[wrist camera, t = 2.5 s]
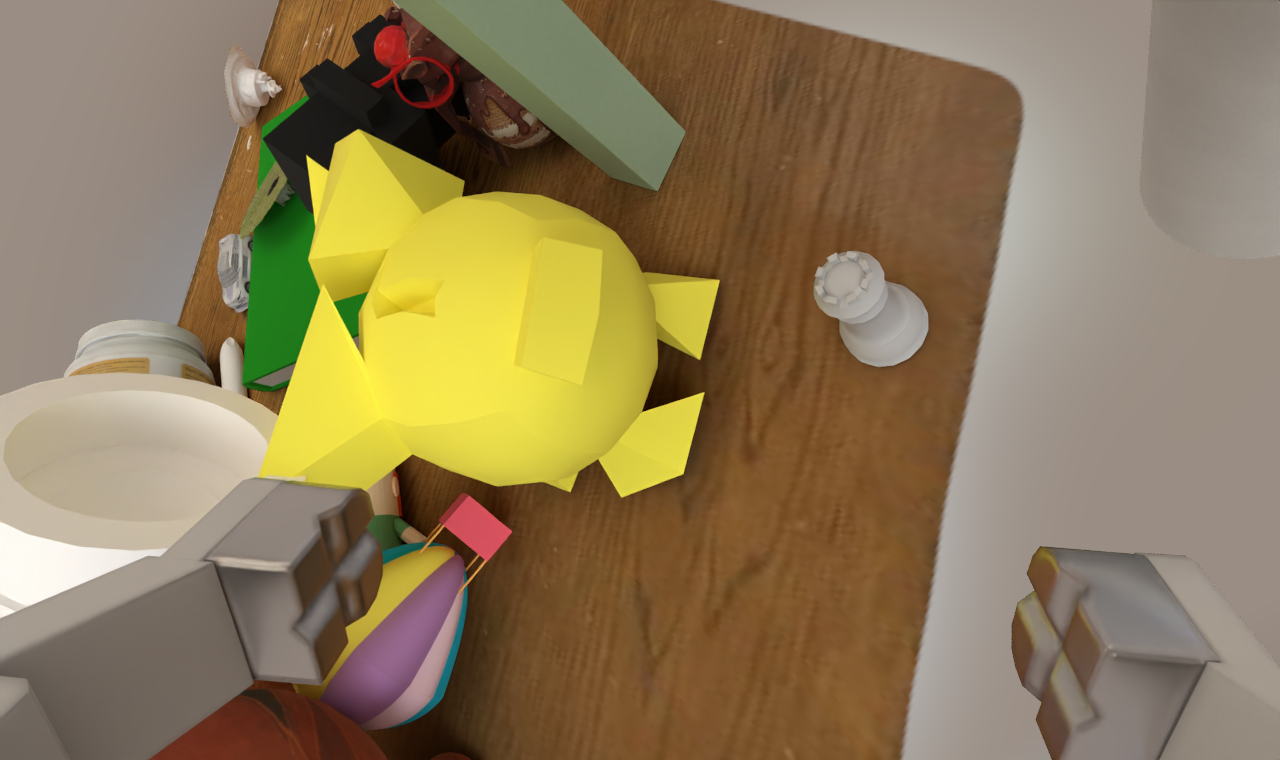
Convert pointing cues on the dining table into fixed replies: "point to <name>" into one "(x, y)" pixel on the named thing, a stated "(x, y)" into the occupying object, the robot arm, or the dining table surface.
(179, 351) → the supplement tub
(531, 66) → the pillar
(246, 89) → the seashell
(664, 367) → the dining table surface
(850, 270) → the rook chess piece
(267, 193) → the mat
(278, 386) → the book
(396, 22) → the cherry-topped chocolate cake
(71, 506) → the white ridged vase
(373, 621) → the hot air balloon
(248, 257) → the toy car
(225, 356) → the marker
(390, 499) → the toy figurine
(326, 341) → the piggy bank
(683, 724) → the dining table surface
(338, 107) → the toy
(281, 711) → the terracotta clay pot
